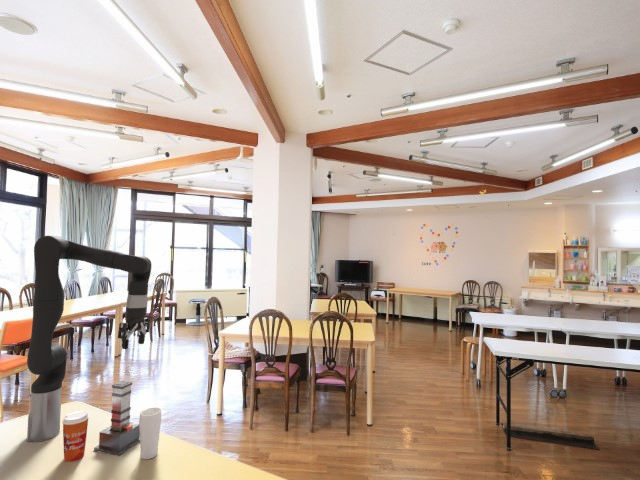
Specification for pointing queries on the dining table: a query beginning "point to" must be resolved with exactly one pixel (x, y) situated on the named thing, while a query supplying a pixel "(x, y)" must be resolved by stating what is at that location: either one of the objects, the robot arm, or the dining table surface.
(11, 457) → the dining table surface
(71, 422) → the paper cup
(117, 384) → the column
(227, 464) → the dining table surface
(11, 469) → the dining table surface
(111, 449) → the sleeve
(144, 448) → the drinking glass
